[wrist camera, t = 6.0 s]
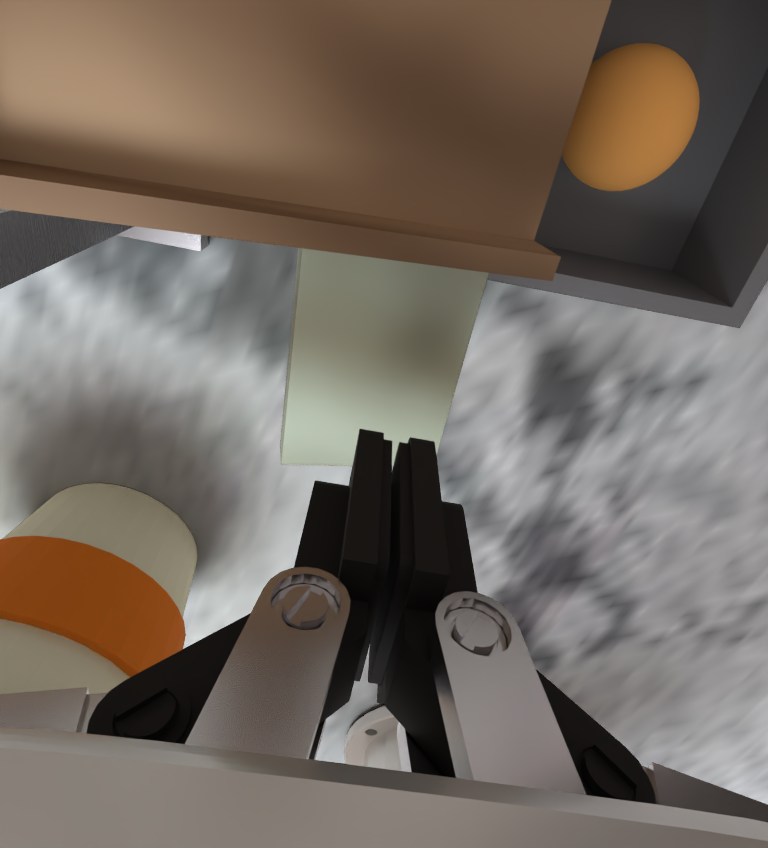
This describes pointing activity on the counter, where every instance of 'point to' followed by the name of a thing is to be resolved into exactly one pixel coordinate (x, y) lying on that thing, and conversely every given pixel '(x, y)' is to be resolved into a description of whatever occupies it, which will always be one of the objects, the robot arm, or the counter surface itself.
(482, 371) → the counter surface
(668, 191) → the bin
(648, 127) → the ball
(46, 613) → the reusable coffee cup
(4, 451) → the counter surface
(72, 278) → the counter surface
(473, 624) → the robot arm
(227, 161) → the wooden tilting tray
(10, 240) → the stand
